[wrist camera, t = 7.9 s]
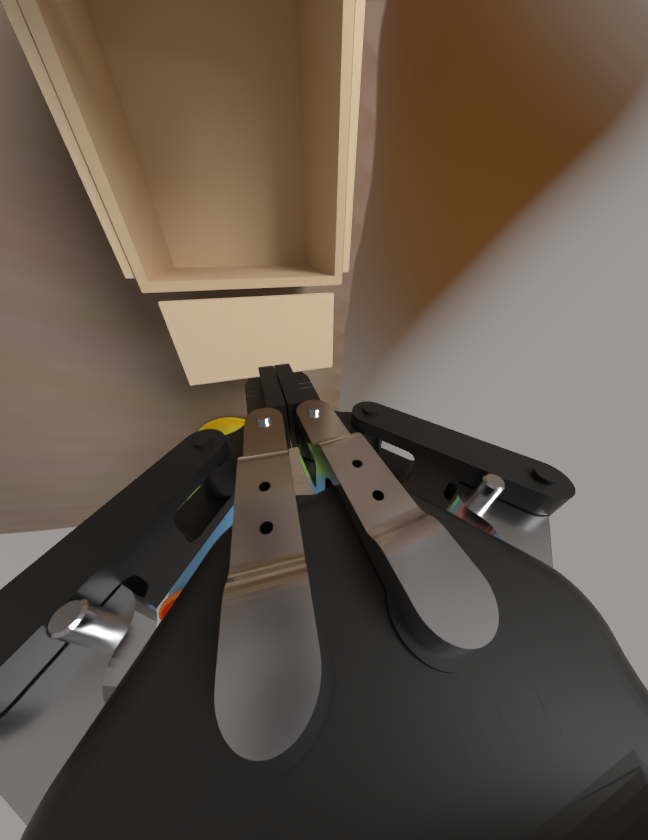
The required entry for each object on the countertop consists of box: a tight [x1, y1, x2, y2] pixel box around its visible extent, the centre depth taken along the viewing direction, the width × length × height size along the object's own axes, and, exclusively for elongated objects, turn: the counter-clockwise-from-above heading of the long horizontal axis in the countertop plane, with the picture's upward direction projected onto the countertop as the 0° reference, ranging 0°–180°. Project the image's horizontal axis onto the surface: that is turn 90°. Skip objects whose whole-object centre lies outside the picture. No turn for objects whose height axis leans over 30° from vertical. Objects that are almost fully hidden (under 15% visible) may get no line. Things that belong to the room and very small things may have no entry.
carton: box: [1, 0, 365, 293], centre depth 15 cm, size 17×15×10 cm
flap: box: [158, 292, 334, 386], centre depth 18 cm, size 1×12×6 cm
